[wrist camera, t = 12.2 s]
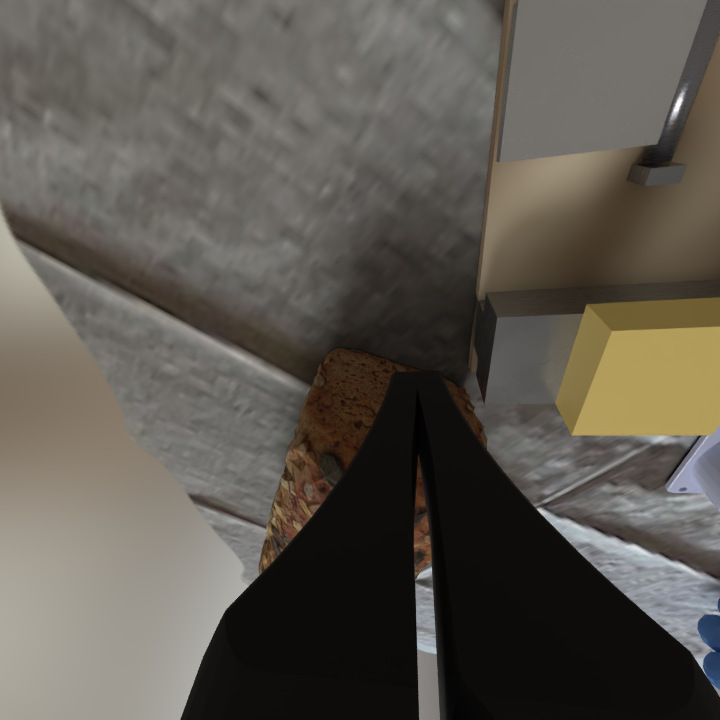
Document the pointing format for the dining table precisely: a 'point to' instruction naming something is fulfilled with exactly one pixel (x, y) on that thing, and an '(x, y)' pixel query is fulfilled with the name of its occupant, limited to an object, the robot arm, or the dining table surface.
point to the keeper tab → (603, 75)
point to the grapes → (716, 635)
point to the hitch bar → (557, 320)
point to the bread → (342, 445)
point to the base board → (601, 210)
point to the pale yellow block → (644, 369)
